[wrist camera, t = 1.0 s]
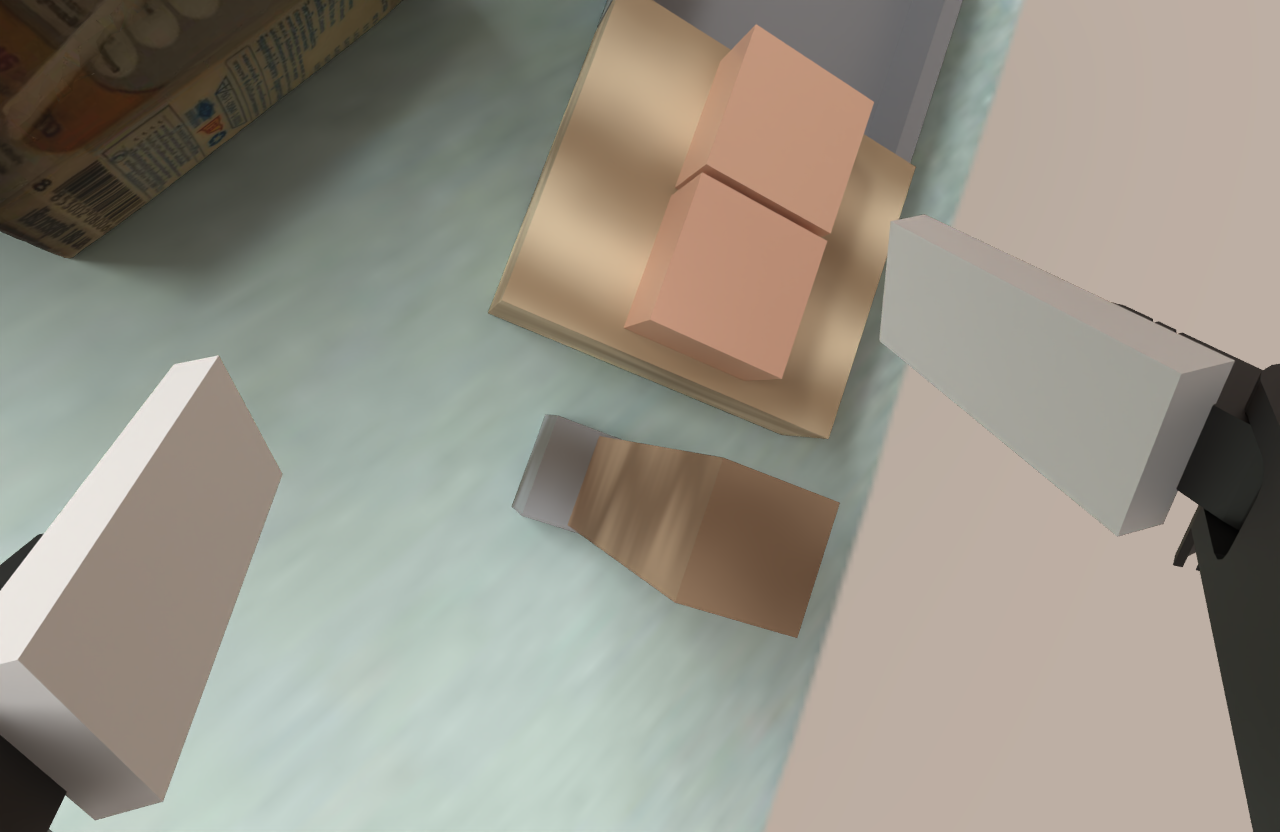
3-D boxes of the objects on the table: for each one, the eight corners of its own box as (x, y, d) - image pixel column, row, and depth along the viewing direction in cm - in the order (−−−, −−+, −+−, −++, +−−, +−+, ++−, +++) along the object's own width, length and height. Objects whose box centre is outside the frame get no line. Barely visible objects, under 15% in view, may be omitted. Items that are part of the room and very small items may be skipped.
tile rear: (789, 249, 30) (830, 233, 27) (674, 187, 28) (706, 164, 25) (829, 129, 30) (874, 102, 28) (720, 61, 28) (756, 24, 26)
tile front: (744, 380, 29) (781, 378, 26) (623, 327, 27) (650, 319, 24) (786, 255, 30) (827, 240, 27) (671, 195, 28) (702, 172, 25)
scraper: (665, 555, 32) (849, 660, 19) (511, 506, 30) (603, 590, 17) (694, 470, 33) (894, 516, 20) (545, 414, 30) (660, 424, 17)
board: (781, 434, 35) (828, 438, 31) (487, 313, 29) (501, 300, 25) (861, 191, 36) (915, 166, 32) (595, 32, 31) (623, -19, 27)
